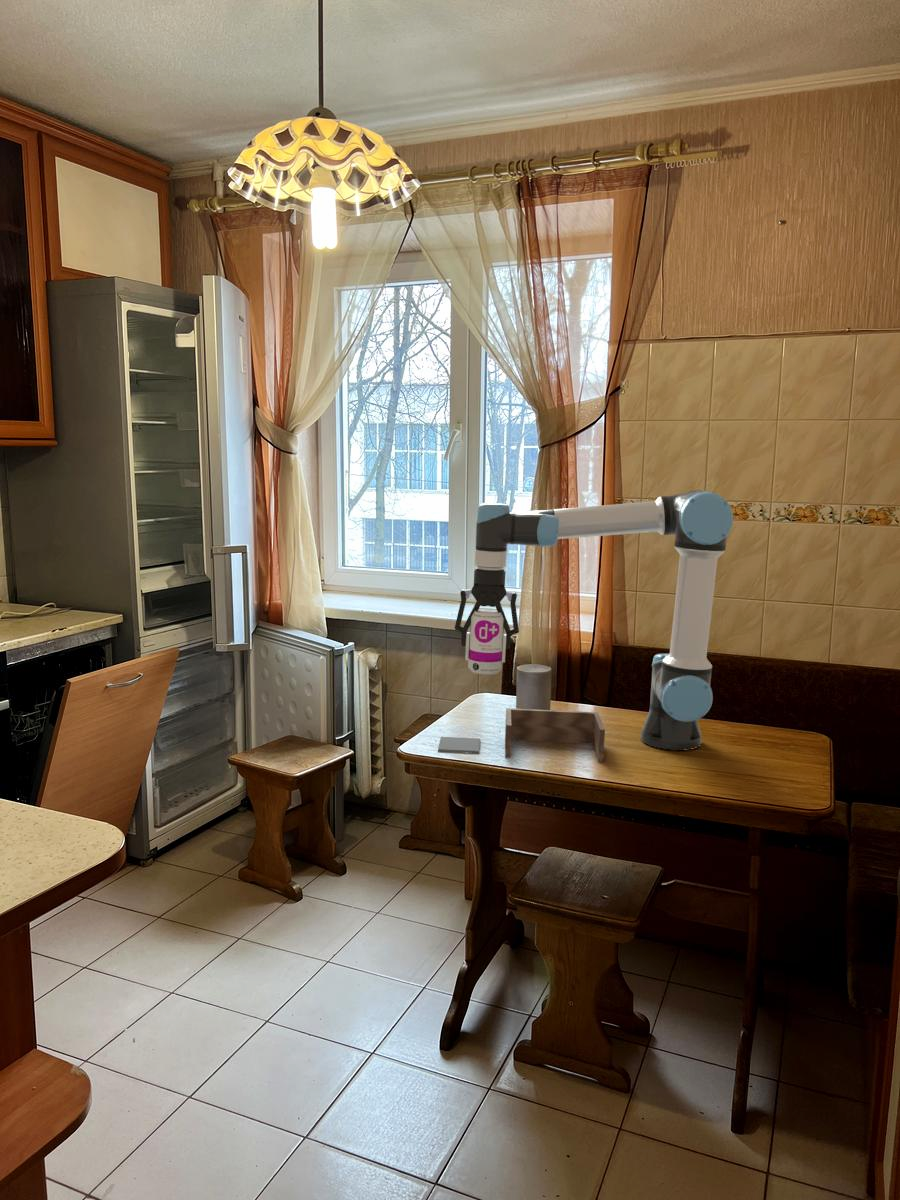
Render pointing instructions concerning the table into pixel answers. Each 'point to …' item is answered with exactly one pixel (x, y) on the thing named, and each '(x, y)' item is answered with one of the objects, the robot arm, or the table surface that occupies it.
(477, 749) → the rubber mat
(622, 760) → the table surface
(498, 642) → the supplement can
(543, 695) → the pillar candle
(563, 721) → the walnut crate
